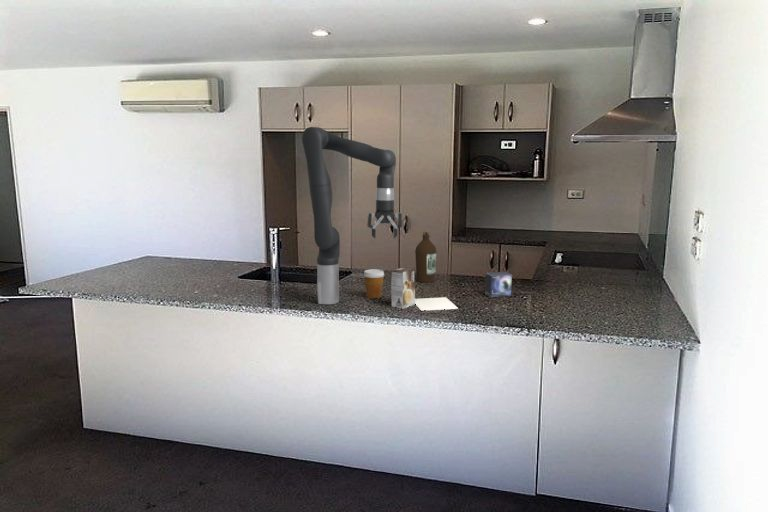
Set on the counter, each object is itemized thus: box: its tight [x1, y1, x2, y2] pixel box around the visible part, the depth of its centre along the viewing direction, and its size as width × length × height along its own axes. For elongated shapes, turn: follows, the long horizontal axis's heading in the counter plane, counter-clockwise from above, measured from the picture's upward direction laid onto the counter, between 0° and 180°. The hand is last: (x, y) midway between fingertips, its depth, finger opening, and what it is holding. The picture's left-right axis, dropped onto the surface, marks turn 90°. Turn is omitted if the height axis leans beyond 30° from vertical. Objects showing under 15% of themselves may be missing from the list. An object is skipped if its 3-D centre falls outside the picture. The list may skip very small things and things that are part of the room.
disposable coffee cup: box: [363, 268, 385, 299], centre depth 263 cm, size 10×10×12 cm
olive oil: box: [414, 231, 437, 284], centre depth 294 cm, size 11×11×25 cm
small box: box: [484, 271, 513, 299], centre depth 265 cm, size 11×6×10 cm, turn 105°
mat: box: [415, 296, 459, 311], centre depth 252 cm, size 16×18×1 cm
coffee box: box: [390, 266, 416, 310], centre depth 248 cm, size 9×6×16 cm
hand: (384, 237), depth 243 cm, fingers open, 8 cm apart
